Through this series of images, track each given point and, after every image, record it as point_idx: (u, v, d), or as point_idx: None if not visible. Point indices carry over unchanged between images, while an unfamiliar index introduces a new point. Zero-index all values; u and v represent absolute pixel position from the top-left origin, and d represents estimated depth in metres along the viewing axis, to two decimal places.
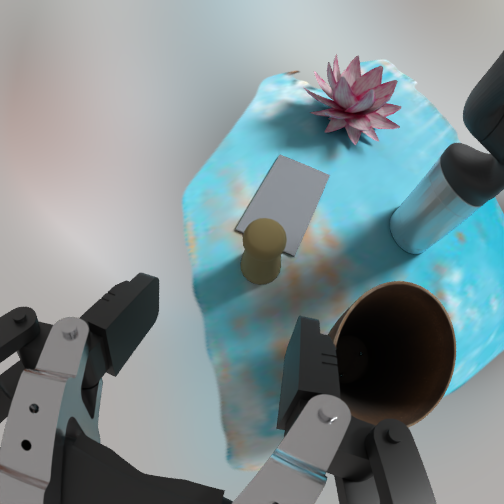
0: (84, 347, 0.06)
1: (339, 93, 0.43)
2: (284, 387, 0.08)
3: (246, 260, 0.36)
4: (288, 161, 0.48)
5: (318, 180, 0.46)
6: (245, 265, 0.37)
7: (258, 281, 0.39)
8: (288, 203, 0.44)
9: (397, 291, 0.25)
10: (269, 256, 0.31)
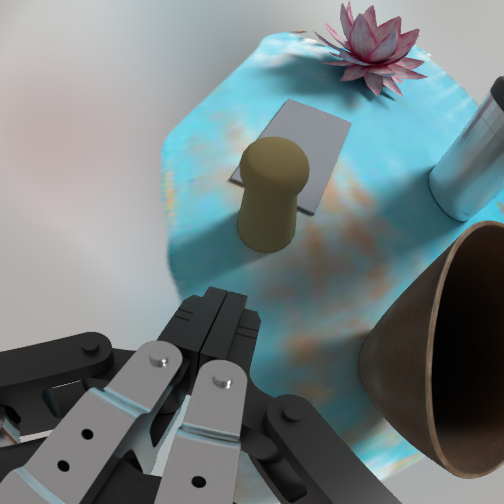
0: (170, 380, 0.06)
1: (356, 35, 0.30)
2: None
3: (245, 210, 0.23)
4: (300, 105, 0.35)
5: (338, 127, 0.34)
6: (244, 220, 0.24)
7: (263, 246, 0.26)
8: (302, 149, 0.32)
9: (487, 243, 0.12)
10: (284, 189, 0.18)
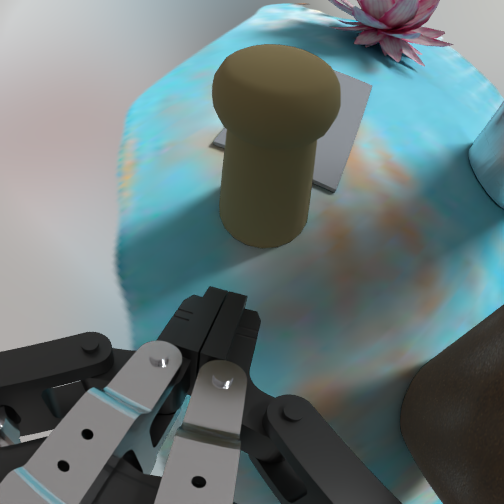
0: (170, 380, 0.06)
1: None
2: None
3: (227, 174, 0.13)
4: None
5: (357, 88, 0.24)
6: (226, 193, 0.15)
7: (259, 237, 0.16)
8: None
9: None
10: (297, 114, 0.08)
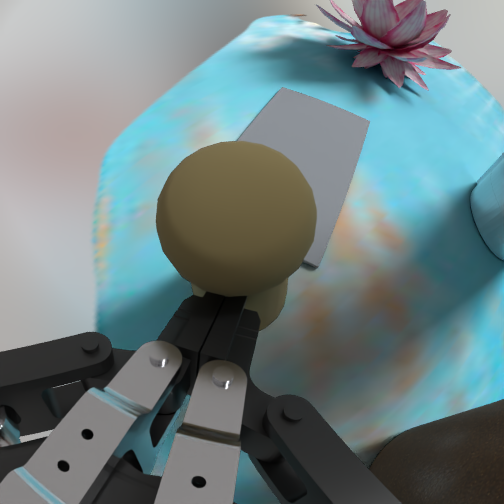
0: (171, 380, 0.06)
1: (372, 9, 0.19)
2: None
3: None
4: (298, 96, 0.25)
5: (352, 126, 0.23)
6: (195, 293, 0.14)
7: None
8: (301, 158, 0.21)
9: None
10: (251, 282, 0.07)
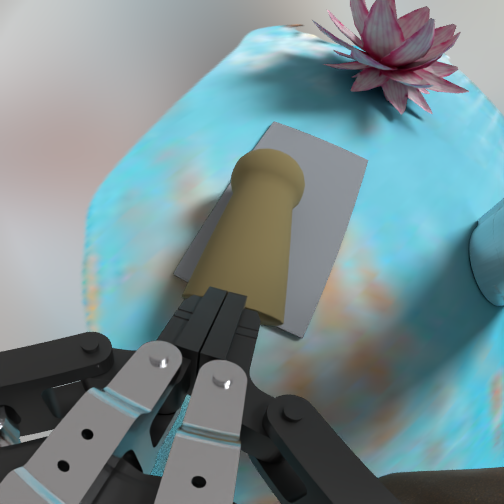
0: (171, 380, 0.06)
1: (374, 26, 0.19)
2: None
3: (222, 219, 0.16)
4: (290, 132, 0.24)
5: (348, 169, 0.23)
6: (213, 240, 0.15)
7: (240, 280, 0.13)
8: None
9: None
10: (288, 157, 0.17)
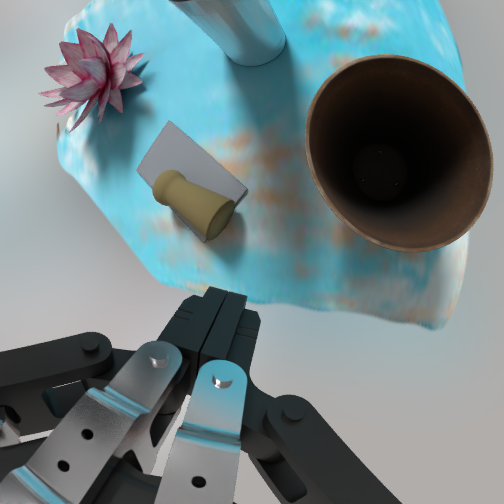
0: (170, 380, 0.06)
1: (79, 96, 0.31)
2: None
3: (181, 214, 0.35)
4: (144, 162, 0.40)
5: (171, 135, 0.38)
6: (188, 220, 0.34)
7: (203, 215, 0.32)
8: (188, 177, 0.38)
9: (322, 110, 0.18)
10: (159, 178, 0.34)
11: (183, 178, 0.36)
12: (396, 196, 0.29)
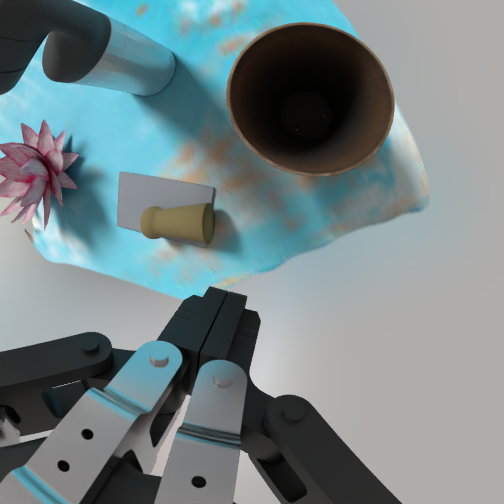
0: (170, 380, 0.06)
1: (36, 197, 0.35)
2: None
3: (176, 237, 0.40)
4: (120, 215, 0.44)
5: (129, 181, 0.42)
6: (184, 238, 0.39)
7: (194, 227, 0.37)
8: (163, 205, 0.42)
9: (237, 103, 0.23)
10: (142, 220, 0.39)
11: (160, 209, 0.40)
12: (330, 126, 0.34)
